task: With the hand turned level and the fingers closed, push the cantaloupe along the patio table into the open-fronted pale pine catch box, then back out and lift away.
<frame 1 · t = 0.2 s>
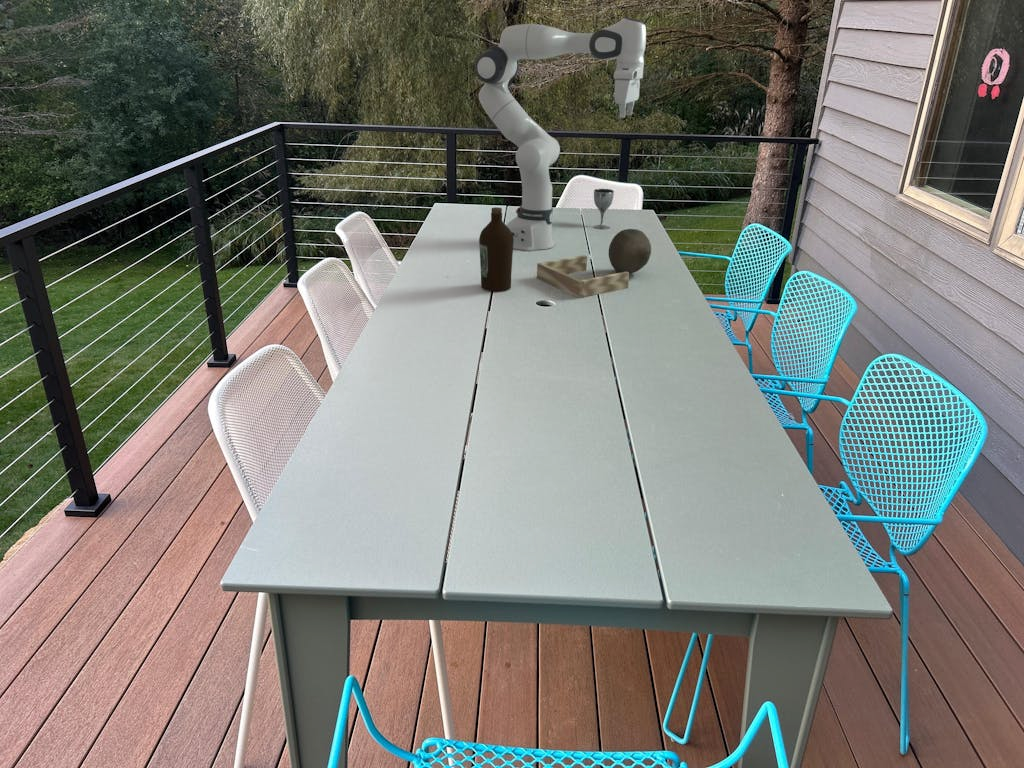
hand: (625, 116, 258), 48 cm above the table, tool pointing down, fingers open, 8 cm apart
catch box: (583, 282, 248), on the table
cantaloupe: (627, 274, 258), on the table
olive oil: (495, 287, 242), on the table
wine glass: (601, 227, 316), on the table
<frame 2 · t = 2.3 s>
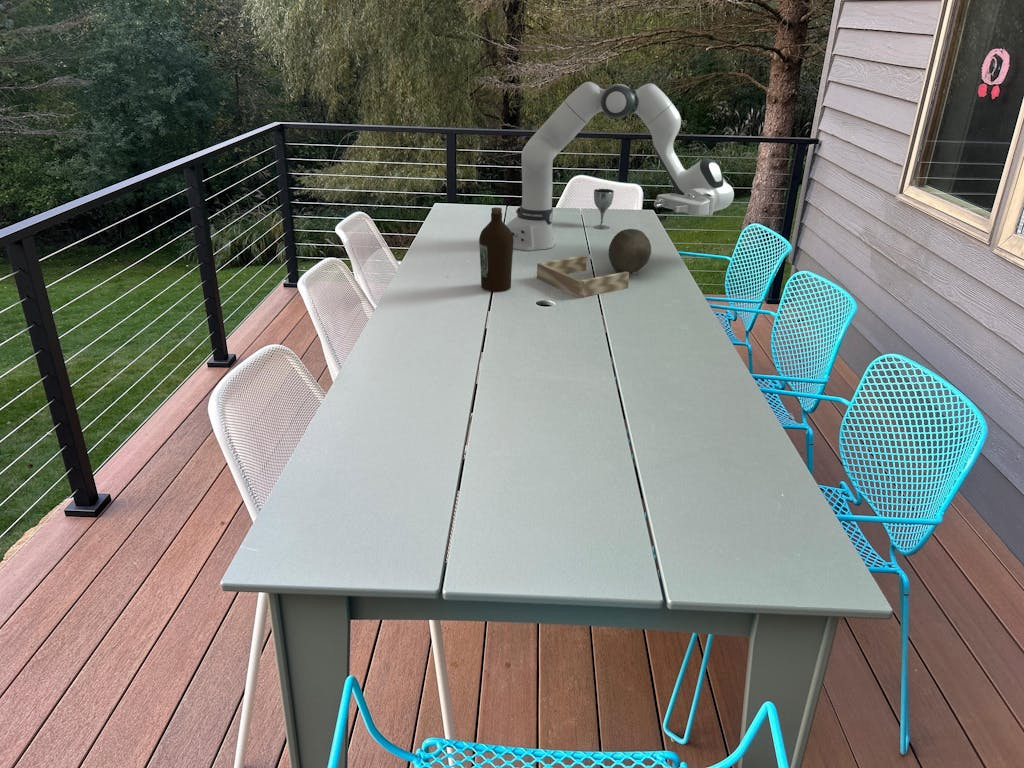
hand: (665, 207, 256), 21 cm above the table, tool horizontal, fingers open, 8 cm apart
nothing on the table moved.
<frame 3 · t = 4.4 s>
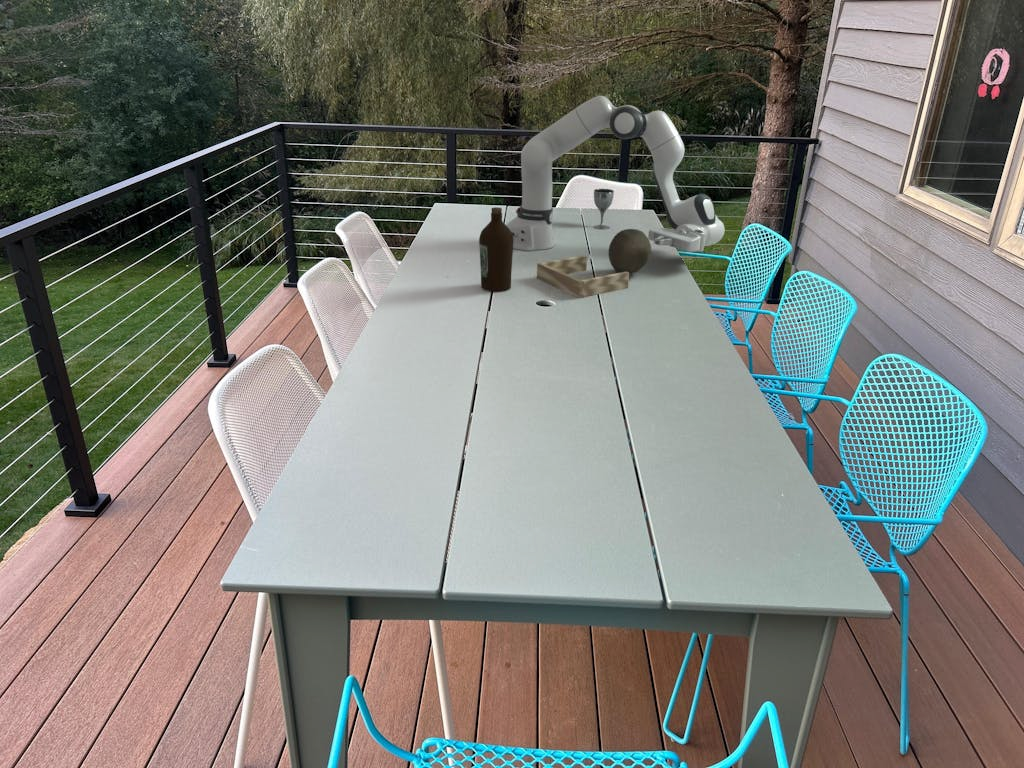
hand: (657, 242, 260), 9 cm above the table, tool horizontal, fingers closed
nothing on the table moved.
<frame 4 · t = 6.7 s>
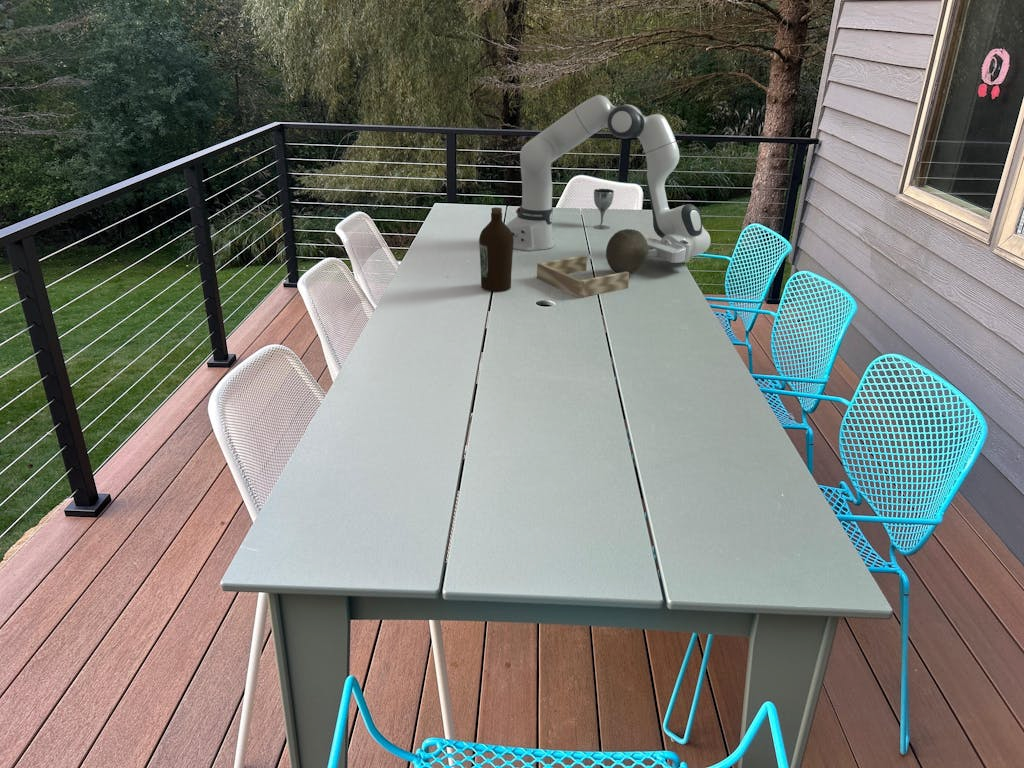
hand: (642, 252, 258), 6 cm above the table, tool horizontal, fingers closed
cantaloupe: (625, 274, 257), on the table, touching gripper
everything else where it was.
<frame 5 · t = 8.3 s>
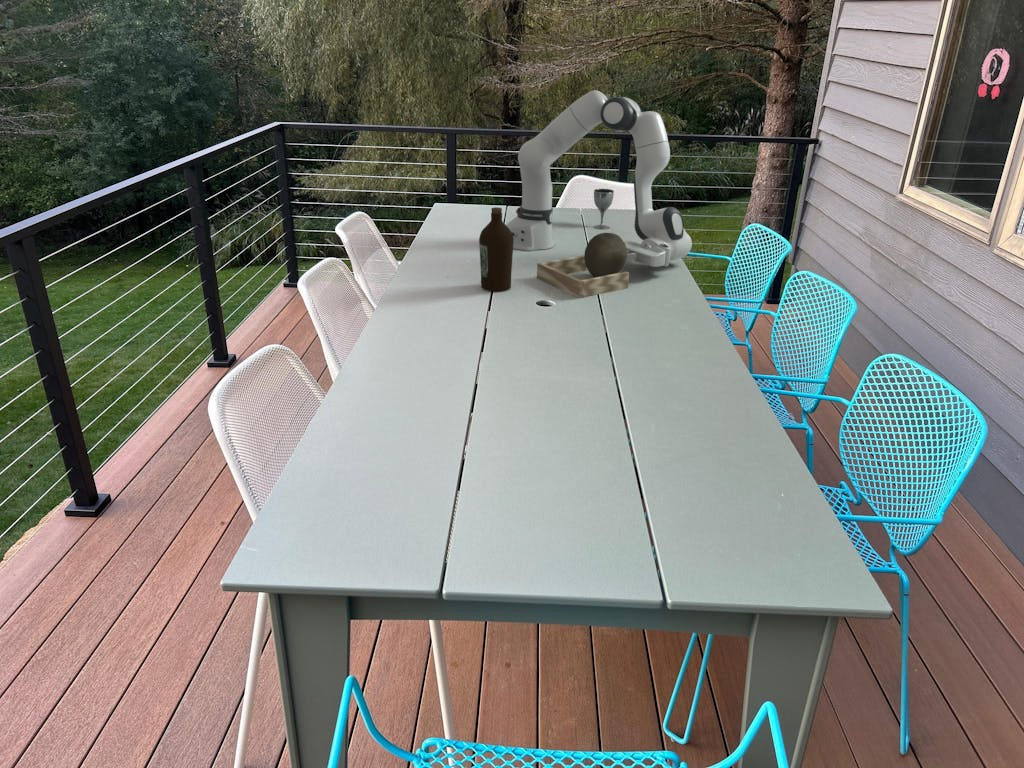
hand: (621, 256, 253), 6 cm above the table, tool horizontal, fingers closed
cantaloupe: (604, 279, 253), on the table, touching gripper
everything else where it was.
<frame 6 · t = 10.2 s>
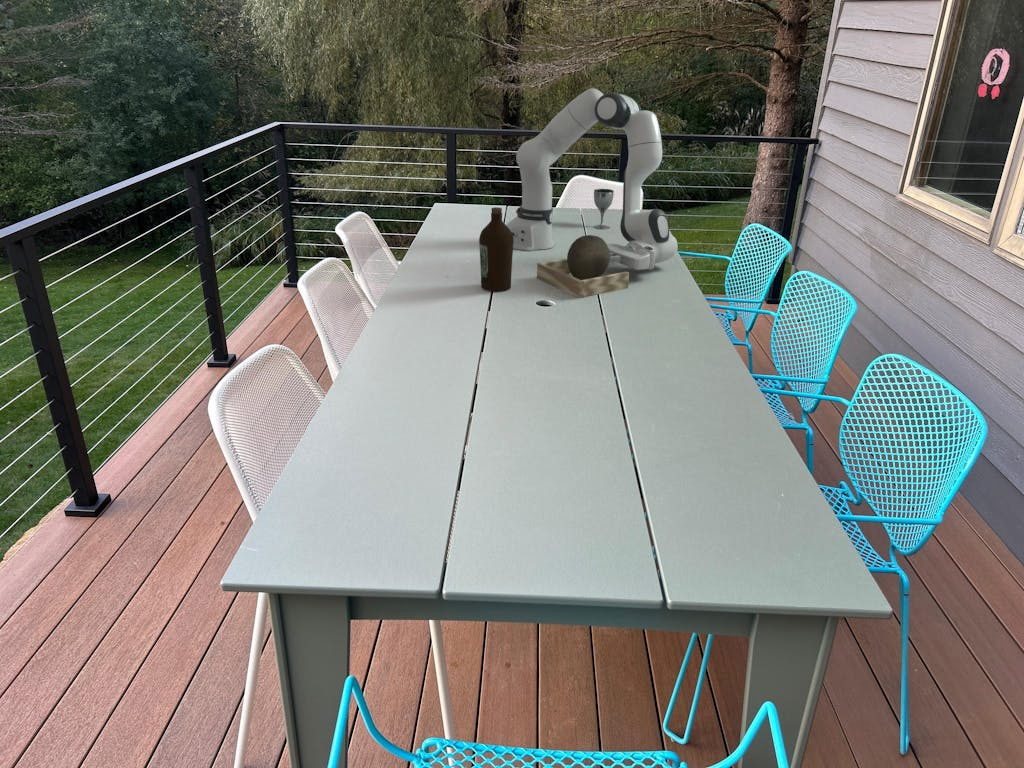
hand: (605, 259, 250), 7 cm above the table, tool horizontal, fingers closed
cantaloupe: (587, 282, 249), on the table, touching gripper
everything else where it was.
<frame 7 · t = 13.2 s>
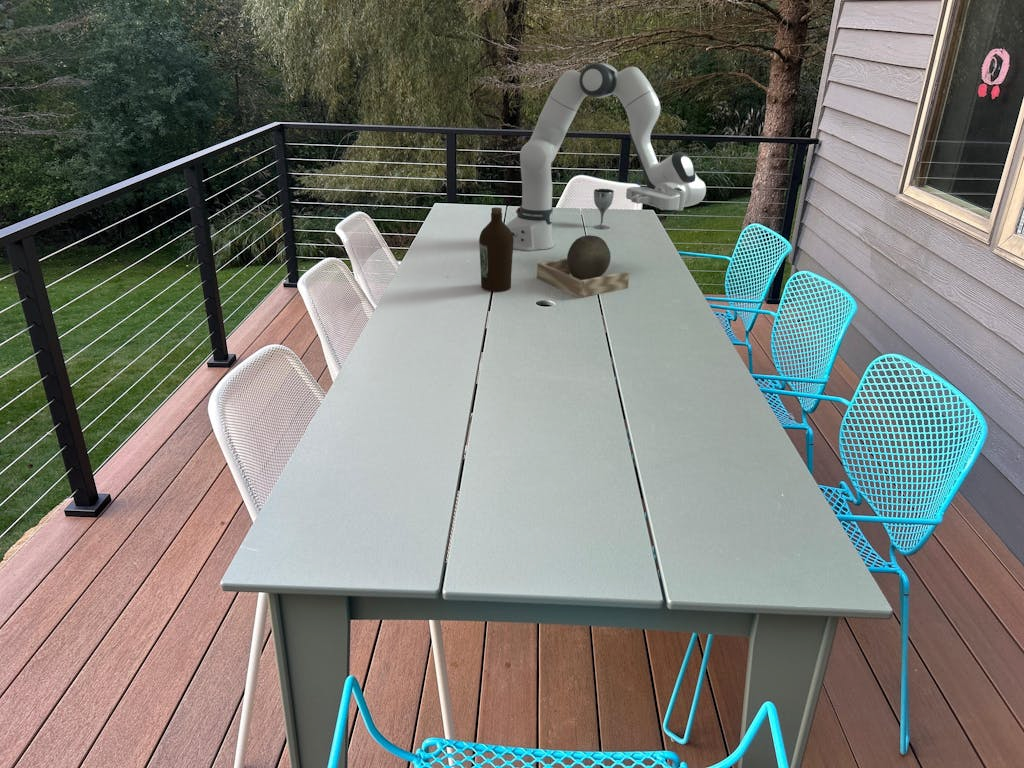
hand: (634, 200, 247), 25 cm above the table, tool horizontal, fingers closed
cantaloupe: (587, 282, 249), on the table
everything else where it was.
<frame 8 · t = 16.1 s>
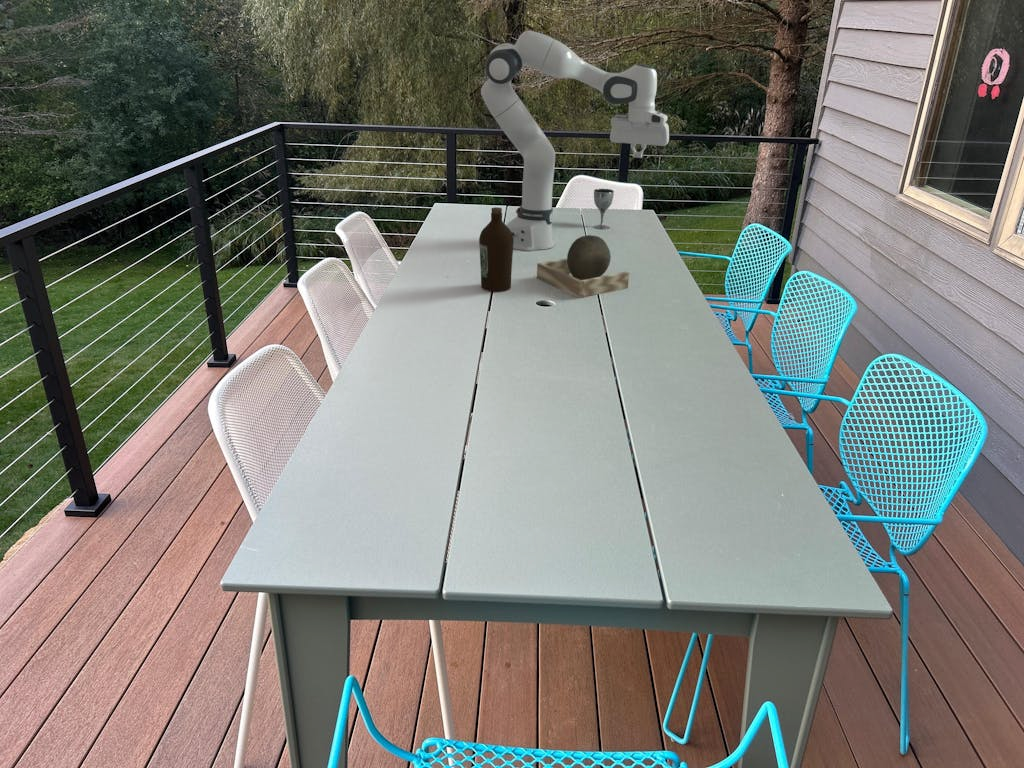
hand: (637, 157, 267), 34 cm above the table, tool pointing down, fingers closed
nothing on the table moved.
at the end: cantaloupe 1.7 cm from the catch box (horizontally); cantaloupe moved 17.3 cm from its start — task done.
